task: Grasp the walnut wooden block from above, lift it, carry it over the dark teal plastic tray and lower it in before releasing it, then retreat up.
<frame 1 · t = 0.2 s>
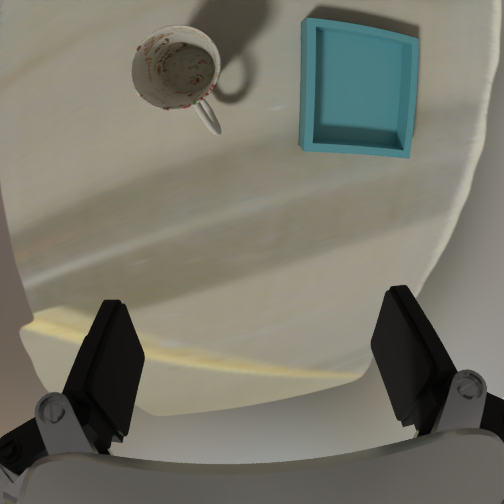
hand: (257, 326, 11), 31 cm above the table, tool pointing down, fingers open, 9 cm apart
tray: (355, 87, 33), on the table
mug: (199, 83, 33), on the table
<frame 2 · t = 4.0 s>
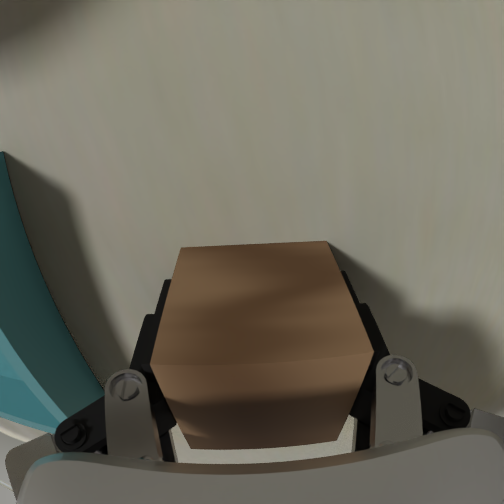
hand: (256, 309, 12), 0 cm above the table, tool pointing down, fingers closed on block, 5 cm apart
block: (255, 300, 12), on the table, touching gripper
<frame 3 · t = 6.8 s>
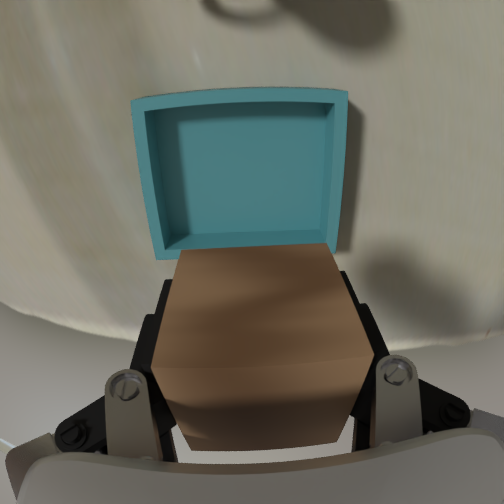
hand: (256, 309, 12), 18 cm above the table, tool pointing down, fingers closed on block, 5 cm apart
block: (256, 302, 12), point 17 cm above the table, touching gripper
tray: (242, 166, 27), on the table
when the fingers open (3 cm above the table, at t = 9.9 s): block drops 2 cm, resting on tray.
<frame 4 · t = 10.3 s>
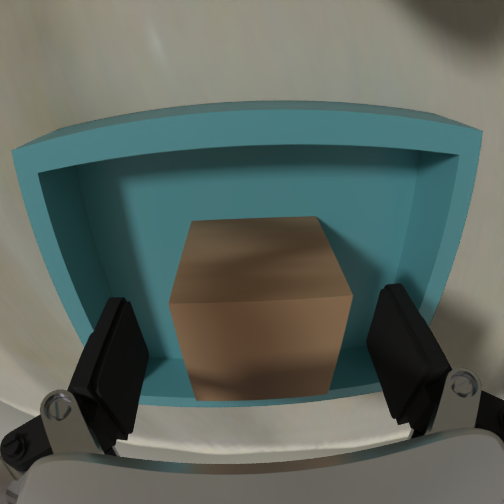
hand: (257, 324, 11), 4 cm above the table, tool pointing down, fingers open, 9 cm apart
block: (255, 269, 14), point 1 cm above the table, touching tray
tray: (252, 259, 14), on the table
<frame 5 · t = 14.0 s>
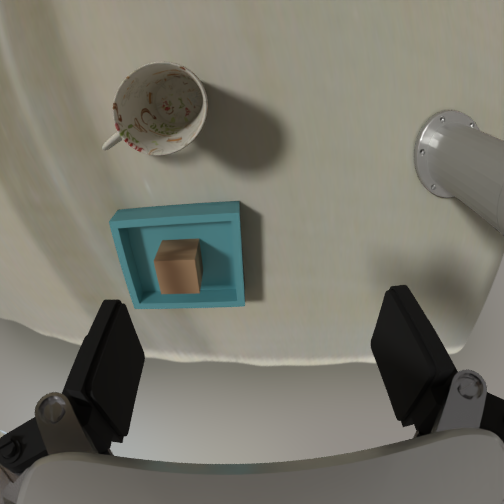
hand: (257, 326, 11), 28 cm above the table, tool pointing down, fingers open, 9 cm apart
block: (183, 255, 41), point 1 cm above the table, touching tray
tray: (183, 252, 42), on the table
mug: (164, 110, 32), on the table
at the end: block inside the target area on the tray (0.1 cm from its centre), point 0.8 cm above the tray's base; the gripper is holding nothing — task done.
